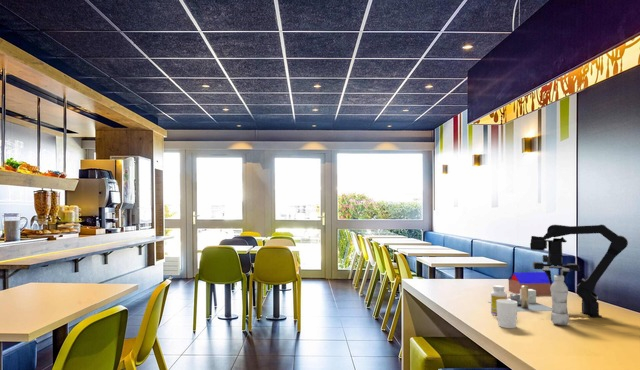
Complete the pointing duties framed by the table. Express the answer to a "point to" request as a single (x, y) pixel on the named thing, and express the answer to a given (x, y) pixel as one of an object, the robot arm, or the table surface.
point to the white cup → (506, 313)
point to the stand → (532, 303)
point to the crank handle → (524, 297)
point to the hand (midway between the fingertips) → (555, 285)
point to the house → (530, 282)
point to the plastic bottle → (559, 301)
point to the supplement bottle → (497, 297)
